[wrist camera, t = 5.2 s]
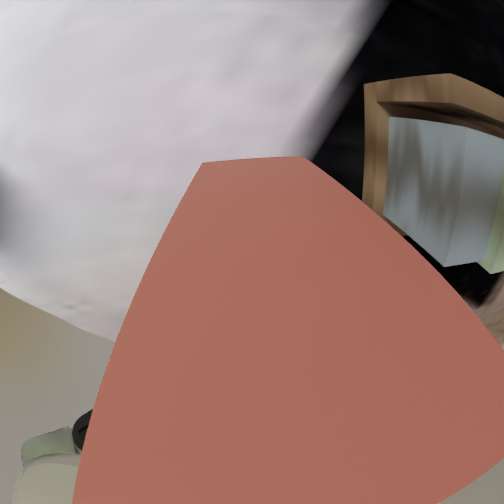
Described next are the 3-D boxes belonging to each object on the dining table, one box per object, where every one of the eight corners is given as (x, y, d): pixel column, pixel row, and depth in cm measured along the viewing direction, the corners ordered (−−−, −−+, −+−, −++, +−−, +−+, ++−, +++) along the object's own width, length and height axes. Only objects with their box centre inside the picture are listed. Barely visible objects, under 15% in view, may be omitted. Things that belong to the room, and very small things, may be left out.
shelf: (363, 84, 16) (465, 72, 7) (517, 129, 17) (585, 154, 7) (359, 228, 22) (431, 308, 12) (506, 222, 22) (563, 264, 13)
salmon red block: (202, 163, 10) (68, 520, 1) (302, 156, 10) (543, 418, 1) (225, 330, 15) (229, 535, 5) (297, 323, 15) (344, 521, 5)
